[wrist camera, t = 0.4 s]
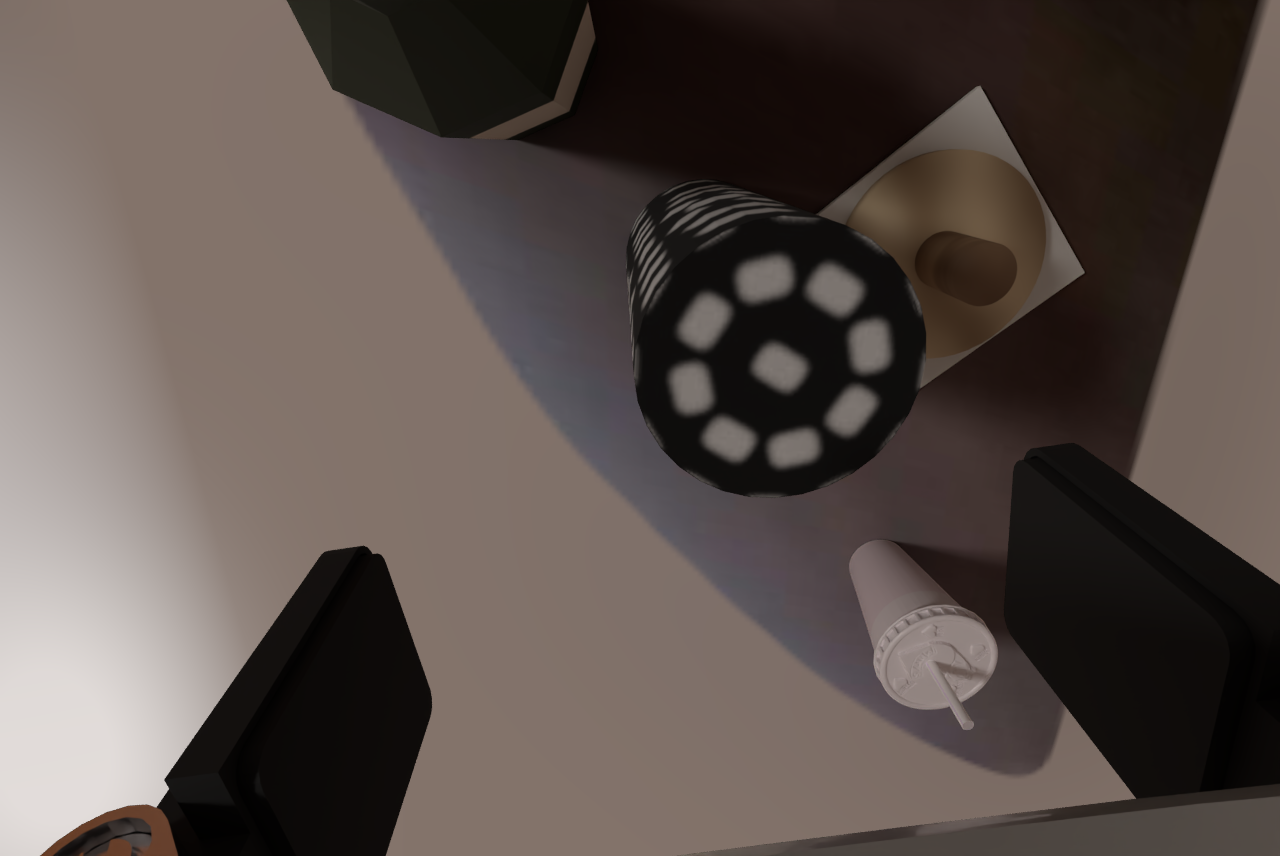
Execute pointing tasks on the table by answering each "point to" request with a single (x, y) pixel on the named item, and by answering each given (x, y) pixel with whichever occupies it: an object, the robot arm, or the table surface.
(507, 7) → the wine bottle
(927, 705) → the smoothie
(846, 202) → the mat
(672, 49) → the table surface
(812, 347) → the spotted tube
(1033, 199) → the lid
